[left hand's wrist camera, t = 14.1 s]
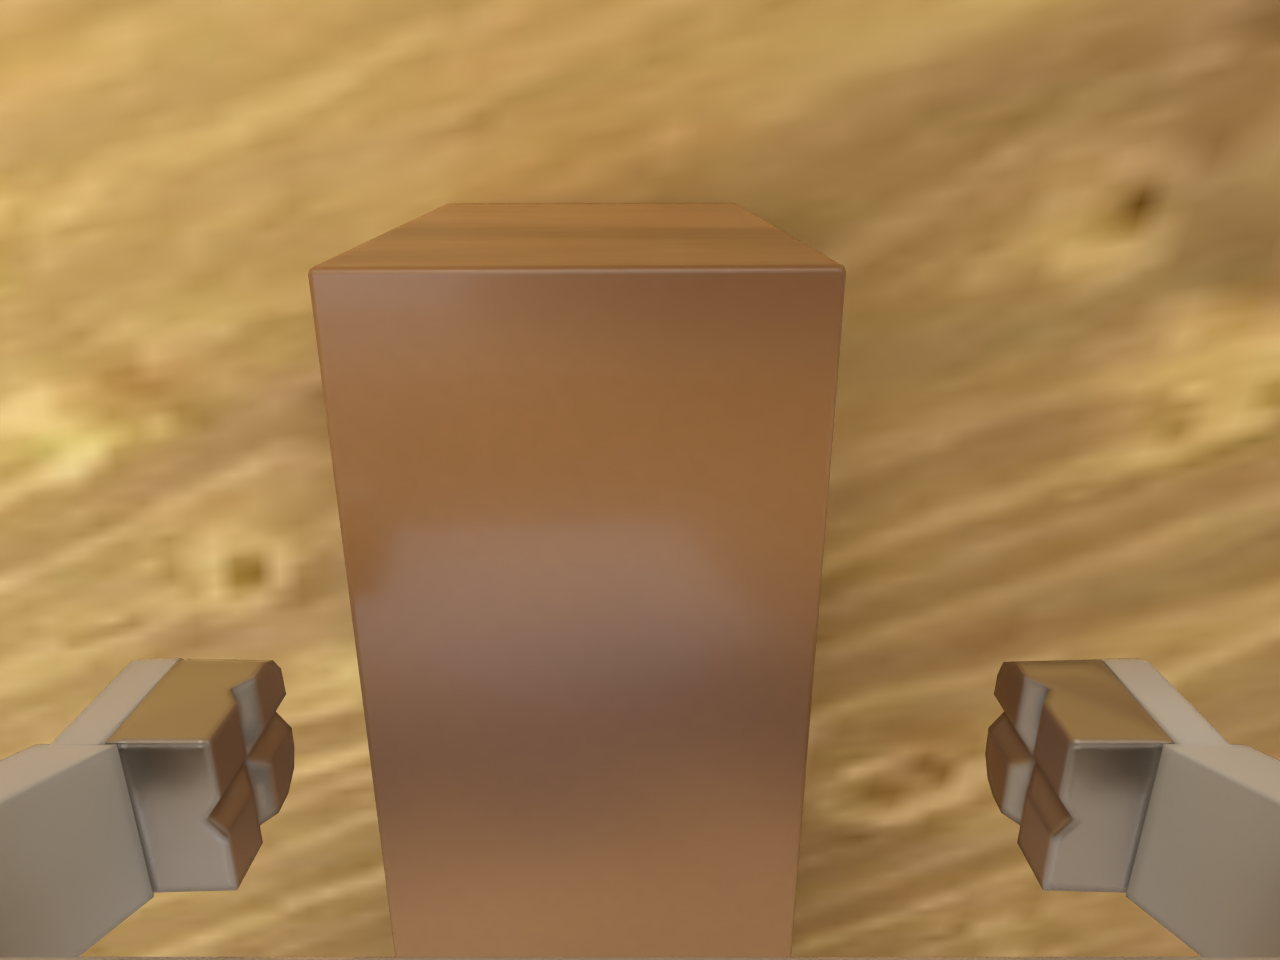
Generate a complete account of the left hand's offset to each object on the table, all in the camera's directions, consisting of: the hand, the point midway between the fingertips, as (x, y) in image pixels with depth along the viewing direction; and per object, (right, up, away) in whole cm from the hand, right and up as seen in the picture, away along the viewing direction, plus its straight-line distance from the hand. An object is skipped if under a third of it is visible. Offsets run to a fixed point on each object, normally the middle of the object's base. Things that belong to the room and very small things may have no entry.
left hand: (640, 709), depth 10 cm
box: (-1, -3, +14) cm, 14 cm away
